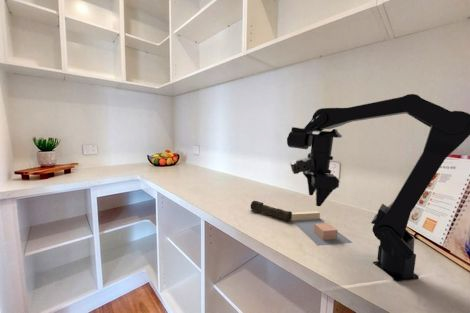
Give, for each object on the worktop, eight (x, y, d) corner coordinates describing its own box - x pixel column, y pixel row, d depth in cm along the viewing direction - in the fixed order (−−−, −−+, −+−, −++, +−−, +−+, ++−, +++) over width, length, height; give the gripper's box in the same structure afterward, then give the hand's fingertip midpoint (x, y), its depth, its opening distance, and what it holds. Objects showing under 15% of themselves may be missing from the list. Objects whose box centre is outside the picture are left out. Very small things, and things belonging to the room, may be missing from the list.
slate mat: (352, 243, 60) (353, 234, 59) (317, 246, 58) (317, 237, 57) (317, 218, 78) (317, 211, 77) (289, 220, 76) (290, 212, 75)
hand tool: (292, 220, 75) (293, 208, 75) (287, 223, 72) (288, 211, 72) (254, 208, 88) (254, 198, 88) (249, 210, 85) (249, 200, 85)
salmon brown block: (336, 238, 62) (337, 229, 61) (322, 240, 61) (323, 231, 60) (327, 231, 66) (327, 222, 66) (313, 232, 66) (314, 223, 65)
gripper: (289, 146, 68) (285, 188, 71) (298, 153, 50) (292, 209, 52) (322, 149, 67) (316, 191, 69) (344, 156, 48) (335, 214, 51)
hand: (314, 200), depth 60 cm, fingers open, 9 cm apart
